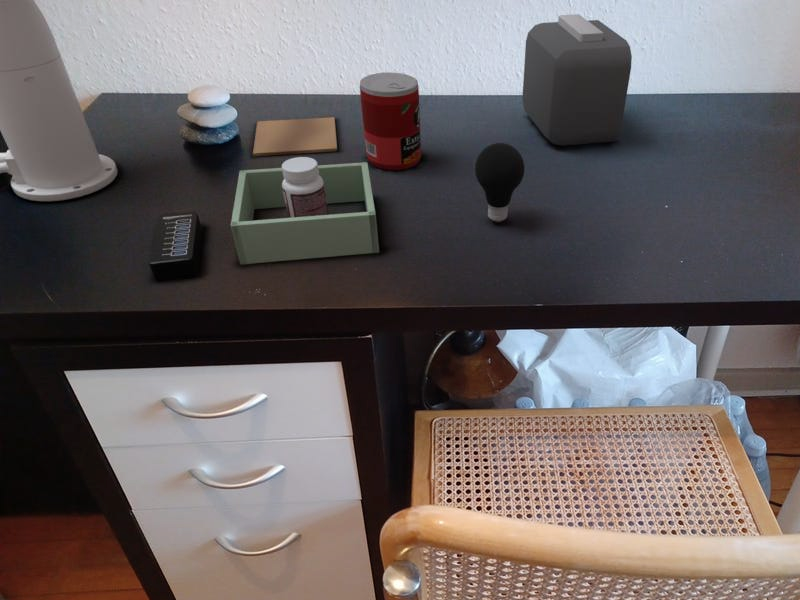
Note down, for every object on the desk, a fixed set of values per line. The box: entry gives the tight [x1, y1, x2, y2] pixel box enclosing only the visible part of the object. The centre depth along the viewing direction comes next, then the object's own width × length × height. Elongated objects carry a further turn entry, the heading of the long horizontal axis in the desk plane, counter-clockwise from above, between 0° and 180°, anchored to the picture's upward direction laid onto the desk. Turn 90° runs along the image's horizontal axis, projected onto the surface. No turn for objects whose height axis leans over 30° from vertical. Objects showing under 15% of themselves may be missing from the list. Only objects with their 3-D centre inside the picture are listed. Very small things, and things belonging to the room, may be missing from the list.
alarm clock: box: [521, 13, 633, 146], centre depth 100 cm, size 16×11×16 cm
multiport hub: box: [148, 210, 203, 282], centre depth 75 cm, size 4×11×2 cm, turn 15°
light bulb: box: [474, 142, 525, 224], centre depth 79 cm, size 6×6×10 cm
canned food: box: [359, 72, 422, 171], centre depth 92 cm, size 8×8×11 cm
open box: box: [230, 161, 380, 265], centre depth 79 cm, size 16×14×5 cm
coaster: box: [252, 116, 338, 157], centre depth 101 cm, size 12×12×1 cm
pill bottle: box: [281, 156, 330, 218], centre depth 78 cm, size 5×5×8 cm
